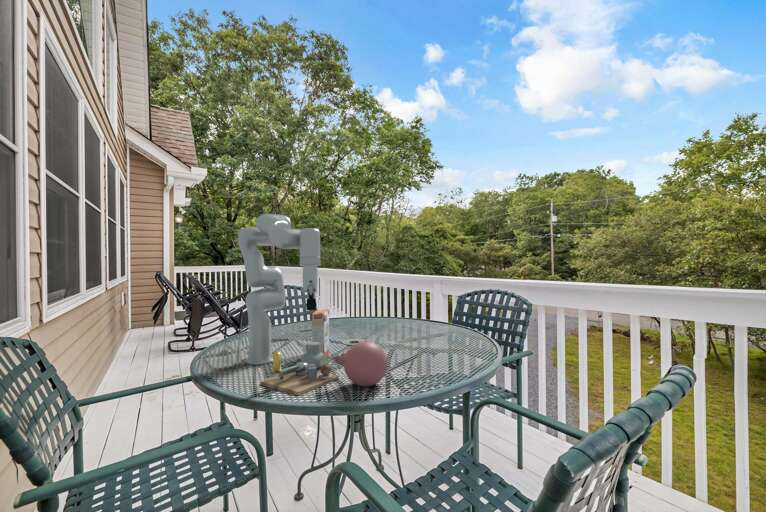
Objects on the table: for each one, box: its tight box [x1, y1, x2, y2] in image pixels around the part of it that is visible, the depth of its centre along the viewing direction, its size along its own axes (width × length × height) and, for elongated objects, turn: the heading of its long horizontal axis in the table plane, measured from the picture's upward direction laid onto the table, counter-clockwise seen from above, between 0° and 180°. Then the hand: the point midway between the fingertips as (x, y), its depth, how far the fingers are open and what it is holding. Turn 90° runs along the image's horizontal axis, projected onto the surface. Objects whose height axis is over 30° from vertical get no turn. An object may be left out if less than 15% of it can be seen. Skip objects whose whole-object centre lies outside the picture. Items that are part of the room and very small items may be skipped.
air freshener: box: [300, 341, 327, 369], centre depth 156 cm, size 11×8×10 cm
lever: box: [272, 351, 308, 377], centre depth 138 cm, size 16×4×9 cm, turn 145°
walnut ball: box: [319, 363, 332, 375], centre depth 139 cm, size 4×4×4 cm
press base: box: [259, 364, 339, 397], centre depth 137 cm, size 20×20×6 cm
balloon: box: [331, 340, 388, 387], centre depth 133 cm, size 15×20×15 cm
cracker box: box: [311, 308, 330, 357], centre depth 172 cm, size 14×6×21 cm, turn 179°
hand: (311, 308), depth 137 cm, fingers open, 9 cm apart
